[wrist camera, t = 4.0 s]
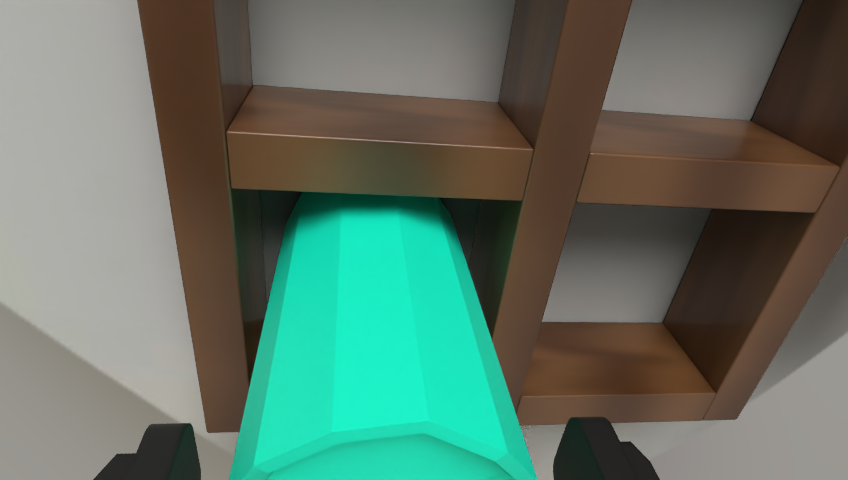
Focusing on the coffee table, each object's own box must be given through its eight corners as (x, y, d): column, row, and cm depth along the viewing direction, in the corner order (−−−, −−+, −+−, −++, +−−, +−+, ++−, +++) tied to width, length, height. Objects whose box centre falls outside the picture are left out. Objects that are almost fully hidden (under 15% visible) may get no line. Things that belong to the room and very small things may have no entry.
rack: (230, 349, 21) (206, 434, 17) (149, -364, 11) (55, -495, 7) (682, 348, 24) (737, 420, 20) (948, -212, 14) (1143, -253, 10)
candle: (365, 125, 17) (382, 454, 6) (487, 233, 19) (636, 588, 9) (249, 245, 18) (119, 652, 8) (375, 329, 21) (395, 716, 11)
